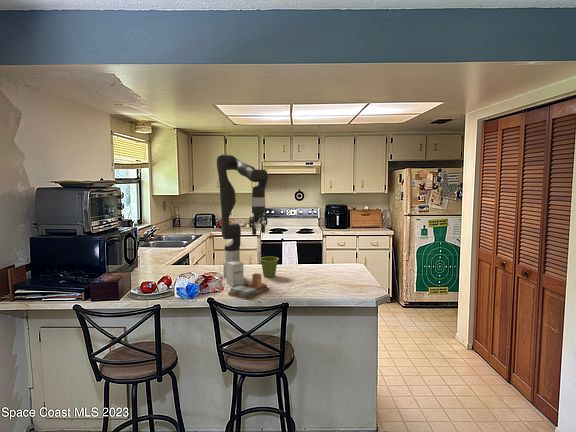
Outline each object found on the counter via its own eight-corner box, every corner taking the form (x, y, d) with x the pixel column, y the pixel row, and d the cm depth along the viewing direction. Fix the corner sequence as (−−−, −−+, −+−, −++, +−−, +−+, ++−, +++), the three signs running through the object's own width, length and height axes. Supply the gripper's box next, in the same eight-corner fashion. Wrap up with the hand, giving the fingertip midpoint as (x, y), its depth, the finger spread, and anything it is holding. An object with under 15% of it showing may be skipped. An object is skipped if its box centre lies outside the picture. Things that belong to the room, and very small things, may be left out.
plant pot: (256, 277, 247) (256, 259, 245) (266, 273, 257) (266, 255, 256) (272, 279, 241) (272, 261, 240) (282, 275, 252) (282, 257, 250)
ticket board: (228, 294, 212) (228, 288, 211) (248, 286, 227) (248, 280, 227) (249, 299, 205) (249, 292, 204) (269, 290, 220) (269, 283, 220)
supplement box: (232, 286, 228) (232, 264, 226) (226, 283, 234) (226, 262, 232) (243, 284, 232) (243, 262, 231) (237, 281, 238) (237, 260, 236)
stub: (247, 286, 222) (247, 274, 221) (251, 284, 226) (251, 272, 225) (261, 288, 218) (260, 276, 217) (265, 286, 221) (265, 274, 220)
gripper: (260, 204, 232) (260, 231, 234) (245, 205, 220) (245, 234, 221) (271, 204, 228) (271, 232, 230) (256, 206, 216) (256, 236, 218)
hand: (258, 233), depth 226 cm, fingers open, 8 cm apart
